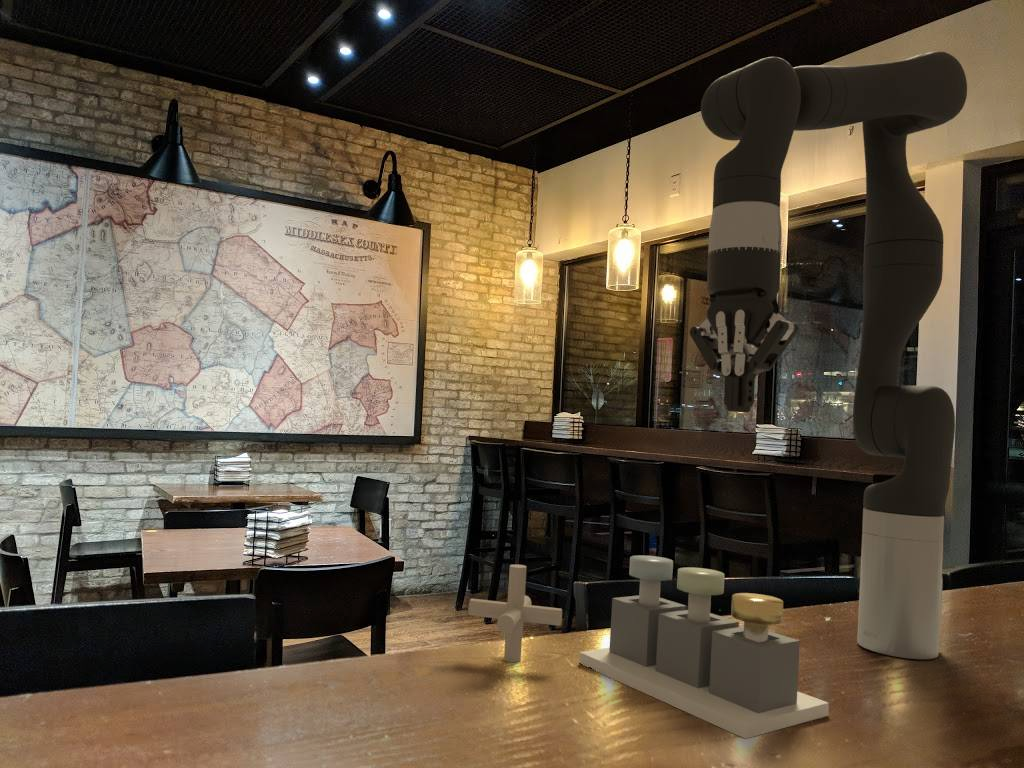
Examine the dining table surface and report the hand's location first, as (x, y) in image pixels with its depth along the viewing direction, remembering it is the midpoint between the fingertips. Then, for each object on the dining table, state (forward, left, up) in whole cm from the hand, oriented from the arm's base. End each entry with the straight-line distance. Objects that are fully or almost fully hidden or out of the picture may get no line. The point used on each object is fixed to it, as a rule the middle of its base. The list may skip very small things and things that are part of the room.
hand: (738, 411), depth 85 cm
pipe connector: (+17, -14, -28) cm, 36 cm away
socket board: (+5, +1, -28) cm, 29 cm away
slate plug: (+5, -6, -25) cm, 26 cm away
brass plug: (+5, +8, -26) cm, 28 cm away
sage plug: (+5, +1, -25) cm, 25 cm away
